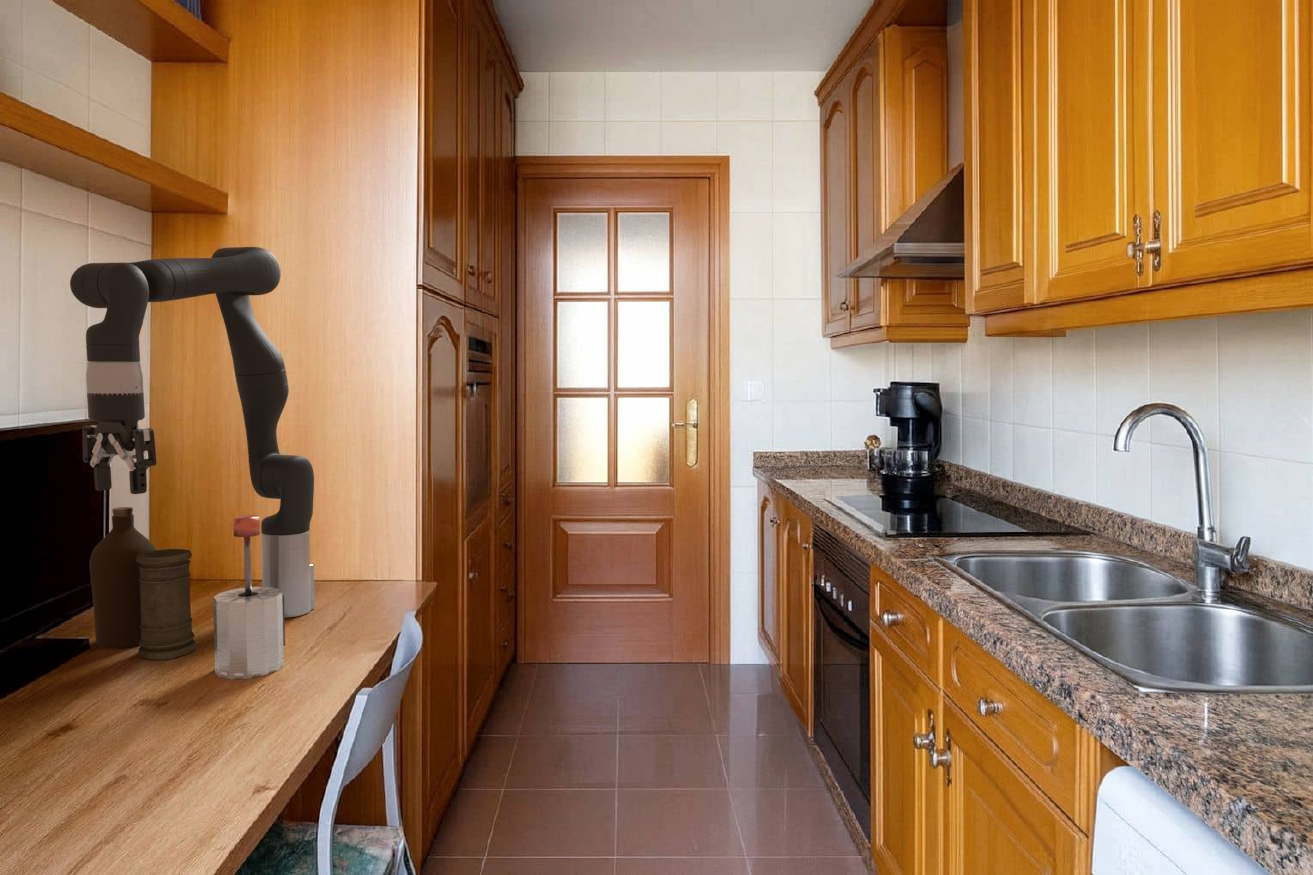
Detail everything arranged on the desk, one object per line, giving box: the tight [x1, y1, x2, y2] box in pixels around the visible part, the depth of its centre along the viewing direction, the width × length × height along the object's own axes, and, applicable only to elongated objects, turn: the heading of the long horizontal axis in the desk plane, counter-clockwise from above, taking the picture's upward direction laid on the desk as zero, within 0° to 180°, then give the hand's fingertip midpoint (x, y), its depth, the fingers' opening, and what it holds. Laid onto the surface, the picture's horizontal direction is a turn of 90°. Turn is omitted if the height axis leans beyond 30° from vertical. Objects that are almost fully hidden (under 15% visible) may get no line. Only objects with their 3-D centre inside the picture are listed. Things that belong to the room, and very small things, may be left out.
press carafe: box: [213, 586, 286, 680], centre depth 139 cm, size 12×10×13 cm
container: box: [136, 548, 197, 661], centre depth 145 cm, size 9×9×18 cm
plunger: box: [232, 514, 261, 597], centre depth 137 cm, size 7×7×17 cm
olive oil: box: [88, 506, 157, 650], centre depth 150 cm, size 11×11×25 cm
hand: (120, 491), depth 130 cm, fingers open, 8 cm apart
